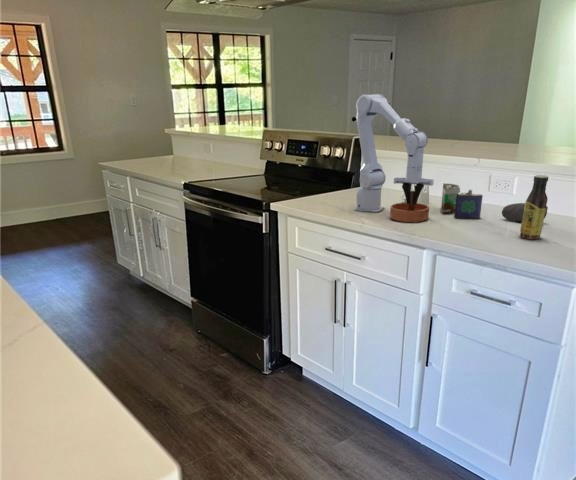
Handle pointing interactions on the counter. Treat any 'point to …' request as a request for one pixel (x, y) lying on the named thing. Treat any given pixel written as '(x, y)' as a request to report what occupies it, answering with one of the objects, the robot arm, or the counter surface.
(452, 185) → the food container
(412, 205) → the stick
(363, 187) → the robot arm
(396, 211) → the bowl
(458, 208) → the flask
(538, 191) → the sauce bottle
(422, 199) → the shaker set
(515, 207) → the perforated stone tool
